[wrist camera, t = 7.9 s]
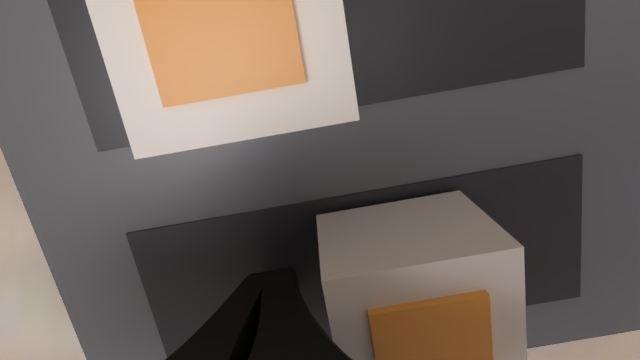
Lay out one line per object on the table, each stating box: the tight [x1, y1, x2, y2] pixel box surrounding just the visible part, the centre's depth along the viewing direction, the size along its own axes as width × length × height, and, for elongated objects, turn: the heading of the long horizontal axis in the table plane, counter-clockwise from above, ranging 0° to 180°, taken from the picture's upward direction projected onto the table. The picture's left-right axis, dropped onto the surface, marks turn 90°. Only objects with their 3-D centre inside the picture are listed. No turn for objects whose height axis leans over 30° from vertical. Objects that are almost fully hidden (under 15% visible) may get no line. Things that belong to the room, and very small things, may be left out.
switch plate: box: [0, 0, 640, 360], centre depth 12 cm, size 18×15×1 cm
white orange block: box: [316, 190, 527, 360], centre depth 10 cm, size 4×4×4 cm
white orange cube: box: [85, 0, 360, 160], centre depth 8 cm, size 4×4×4 cm
